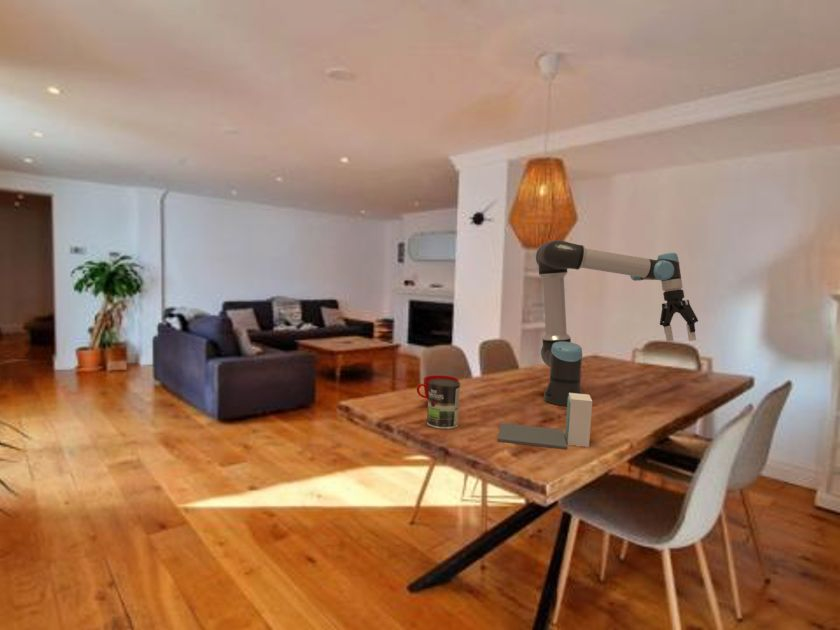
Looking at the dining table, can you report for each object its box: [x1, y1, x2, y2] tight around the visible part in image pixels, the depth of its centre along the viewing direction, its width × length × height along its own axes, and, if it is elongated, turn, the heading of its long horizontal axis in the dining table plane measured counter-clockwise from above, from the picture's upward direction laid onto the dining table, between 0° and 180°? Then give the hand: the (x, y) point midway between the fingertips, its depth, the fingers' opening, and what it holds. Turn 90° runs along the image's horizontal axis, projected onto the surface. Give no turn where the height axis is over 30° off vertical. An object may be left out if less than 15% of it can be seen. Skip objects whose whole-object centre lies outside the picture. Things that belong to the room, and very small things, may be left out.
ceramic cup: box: [416, 375, 460, 400], centre depth 180 cm, size 13×17×10 cm
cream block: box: [564, 393, 593, 448], centre depth 147 cm, size 6×8×14 cm
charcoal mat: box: [497, 422, 568, 450], centre depth 151 cm, size 20×16×1 cm
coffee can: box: [426, 379, 461, 430], centre depth 159 cm, size 10×10×14 cm
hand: (681, 341), depth 201 cm, fingers open, 13 cm apart
